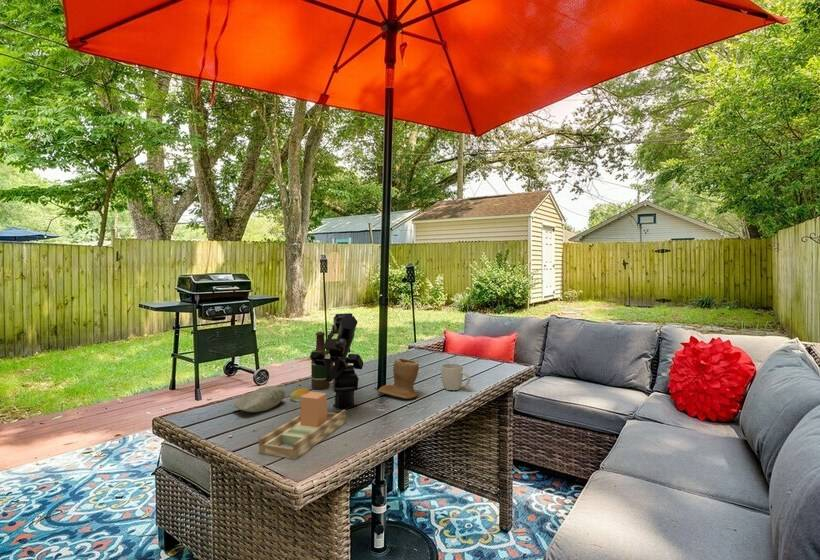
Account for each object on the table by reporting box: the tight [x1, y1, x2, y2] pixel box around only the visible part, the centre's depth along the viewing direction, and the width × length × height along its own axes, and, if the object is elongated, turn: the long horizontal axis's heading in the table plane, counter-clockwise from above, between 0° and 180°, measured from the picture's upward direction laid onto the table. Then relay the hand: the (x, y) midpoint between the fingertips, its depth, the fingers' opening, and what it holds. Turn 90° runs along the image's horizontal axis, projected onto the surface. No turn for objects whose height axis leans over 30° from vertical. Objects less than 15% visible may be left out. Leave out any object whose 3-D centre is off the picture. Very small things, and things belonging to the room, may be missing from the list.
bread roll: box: [289, 387, 312, 403], centre depth 173 cm, size 8×9×4 cm
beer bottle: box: [310, 331, 331, 391], centre depth 188 cm, size 8×8×24 cm
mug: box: [440, 363, 471, 392], centre depth 185 cm, size 13×9×10 cm
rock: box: [233, 385, 287, 413], centre depth 161 cm, size 8×11×20 cm
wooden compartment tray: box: [258, 409, 347, 460], centre depth 135 cm, size 30×12×4 cm, turn 162°
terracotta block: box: [300, 391, 328, 427], centre depth 139 cm, size 6×6×9 cm
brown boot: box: [378, 357, 420, 399], centre depth 177 cm, size 15×12×15 cm
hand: (328, 381), depth 148 cm, fingers closed
